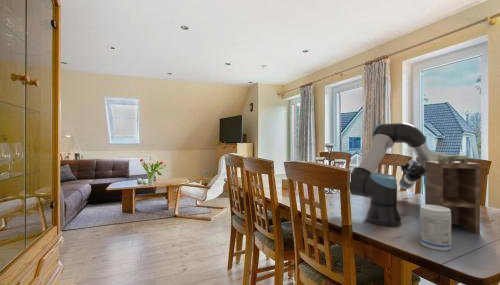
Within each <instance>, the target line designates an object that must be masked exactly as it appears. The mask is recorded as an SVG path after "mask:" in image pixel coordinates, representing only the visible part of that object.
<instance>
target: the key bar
mask: <svg viewBox="0 0 500 285" xmlns="http://www.w3.org/2000/svg"><path fill="white" fill-rule="evenodd" d="M438 155H447V153H446V152H431V153H430V160H432V161H438ZM445 161H446V162H455V161H456V159H445Z"/></svg>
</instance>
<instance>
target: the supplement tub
mask: <svg viewBox="0 0 500 285" xmlns="http://www.w3.org/2000/svg"><path fill="white" fill-rule="evenodd" d="M419 208H420V209H419V243H421V245H422V246H423V247H425V248H428V249H430V250H435V251H439V252H441V251H442V252H443V251H444V252H446V251H450V250H451V249H452V224H451V210H450V209H449V208H446V207H443V206H438V205H425V204H421V205H420V207H419Z"/></svg>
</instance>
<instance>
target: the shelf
mask: <svg viewBox="0 0 500 285" xmlns="http://www.w3.org/2000/svg"><path fill="white" fill-rule="evenodd" d="M445 159H455V162H446V161H445ZM457 160H458V161H457ZM480 168H481V163H477V162H469V156H468V155H465V154H463V155H462V154H459V155H458V154H454V155H453V154H446V155H438V161H425V176H424V179H425V180H424V205H438V206H443V207H446V208H449V209H450V210H451V225H459V226H461V227H463V228H465V229H466V230H468V231H470V232H472V233H474V234H475V235H481V214H480V213H481V190H480V189H481V186H480V185H481V170H480Z"/></svg>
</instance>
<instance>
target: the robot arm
mask: <svg viewBox="0 0 500 285" xmlns="http://www.w3.org/2000/svg"><path fill="white" fill-rule="evenodd" d="M371 138H372V141H373V142H372V144H371V145H370V147H369V149H368V150H367V152H366V154H365V155H364V157H363V159H362V160H361V162H360V164H358V166H355V167H354V168H353V169H352V171H351V172H350V173H351V182H350V194H349V195H352V196H360V197H362V198H363V197H365V198H369V200H370V204H369V208H368V211H367V212H366V221H367V222H369V223H371V224H373V225H378V226H381V227H382V226H384V227H398V226H401V225H402V217H401V215H400V211H399V210H398V185H399V187H400V188H402V189H404V190H409V189H411V188H413V186H414V185H415V184H416V183H417V182H418V181H419V180H420V179H421V178H422V177H425V161H432V160H430V153H432V151H431V150H430V148H429V147H428V145H427V142H426V141H427V138H426V136H425V134H424V133H423V132H422V131H421V130H420V129H419V128H418V127H416V126H415V125H412V124H410V123H407V122H399V123H397V122H396V123H381V124H377V125H375V126H374V127H373V129H372V131H371ZM402 143H403V144H407V146H408V147H410V148H411V149H412V151H413V152H414V154H415V156H416V158H417V159H418V161H417V160H413V159H410V160H408V161H407V162H406V163H405V164H404V165H403V164H402V165H400V169H401V171H402V176H401V178H400V180H399V182H398V181H397V180H398V179H397V178H396V177H395V176H393V175H390V174H387V173H382V172H381V173H380V172H376V171H377V169H378V167H379V166H380V164H381V162H382V160H383V159H384V157H385V155H386V153H387V151H388V149H391V148H393V146H394V144H402Z"/></svg>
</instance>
